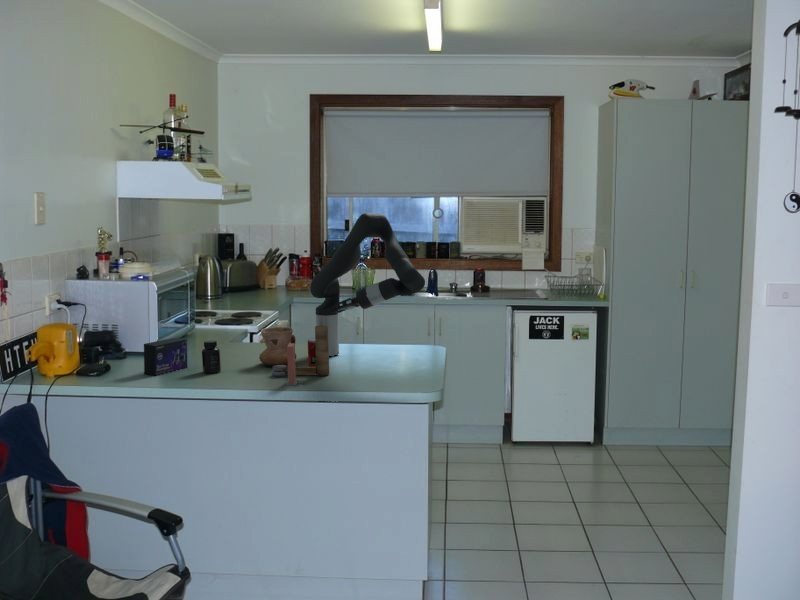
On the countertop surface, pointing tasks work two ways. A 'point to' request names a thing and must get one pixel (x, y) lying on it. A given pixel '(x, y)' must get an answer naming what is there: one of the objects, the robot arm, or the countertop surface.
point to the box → (165, 356)
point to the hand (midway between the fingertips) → (332, 310)
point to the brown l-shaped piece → (321, 356)
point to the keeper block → (291, 365)
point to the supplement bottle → (211, 358)
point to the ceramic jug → (276, 345)
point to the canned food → (311, 352)
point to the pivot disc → (279, 373)
